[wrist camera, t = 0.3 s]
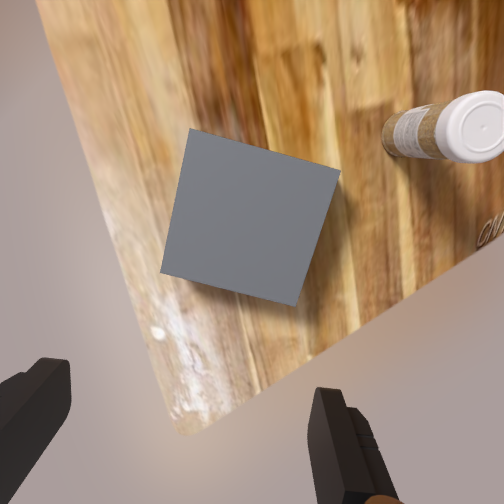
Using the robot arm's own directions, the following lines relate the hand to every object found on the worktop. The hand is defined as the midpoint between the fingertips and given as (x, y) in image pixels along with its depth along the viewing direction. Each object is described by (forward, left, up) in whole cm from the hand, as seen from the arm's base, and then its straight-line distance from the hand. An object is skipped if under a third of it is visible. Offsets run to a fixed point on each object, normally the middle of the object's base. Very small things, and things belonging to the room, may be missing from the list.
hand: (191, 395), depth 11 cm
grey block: (-1, +1, -28) cm, 28 cm away
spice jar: (-13, +14, -28) cm, 34 cm away
